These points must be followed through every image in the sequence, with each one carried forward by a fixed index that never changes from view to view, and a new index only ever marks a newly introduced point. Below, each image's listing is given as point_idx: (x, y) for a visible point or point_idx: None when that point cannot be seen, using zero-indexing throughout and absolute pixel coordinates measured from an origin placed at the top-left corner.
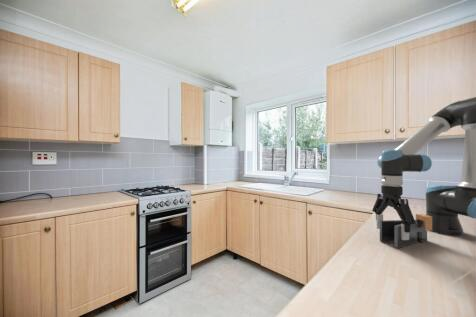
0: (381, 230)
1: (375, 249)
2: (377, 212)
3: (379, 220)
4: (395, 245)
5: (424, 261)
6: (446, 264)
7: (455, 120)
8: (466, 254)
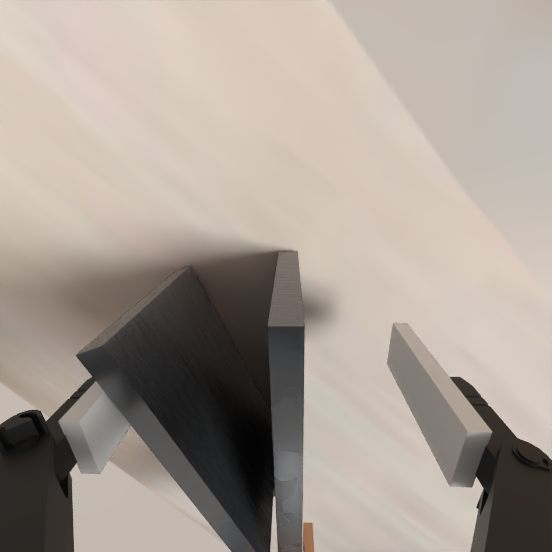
0: (277, 280)
1: (163, 117)
2: (501, 468)
3: (424, 390)
4: (181, 271)
5: (45, 285)
6: (38, 350)
7: None
8: (153, 481)
